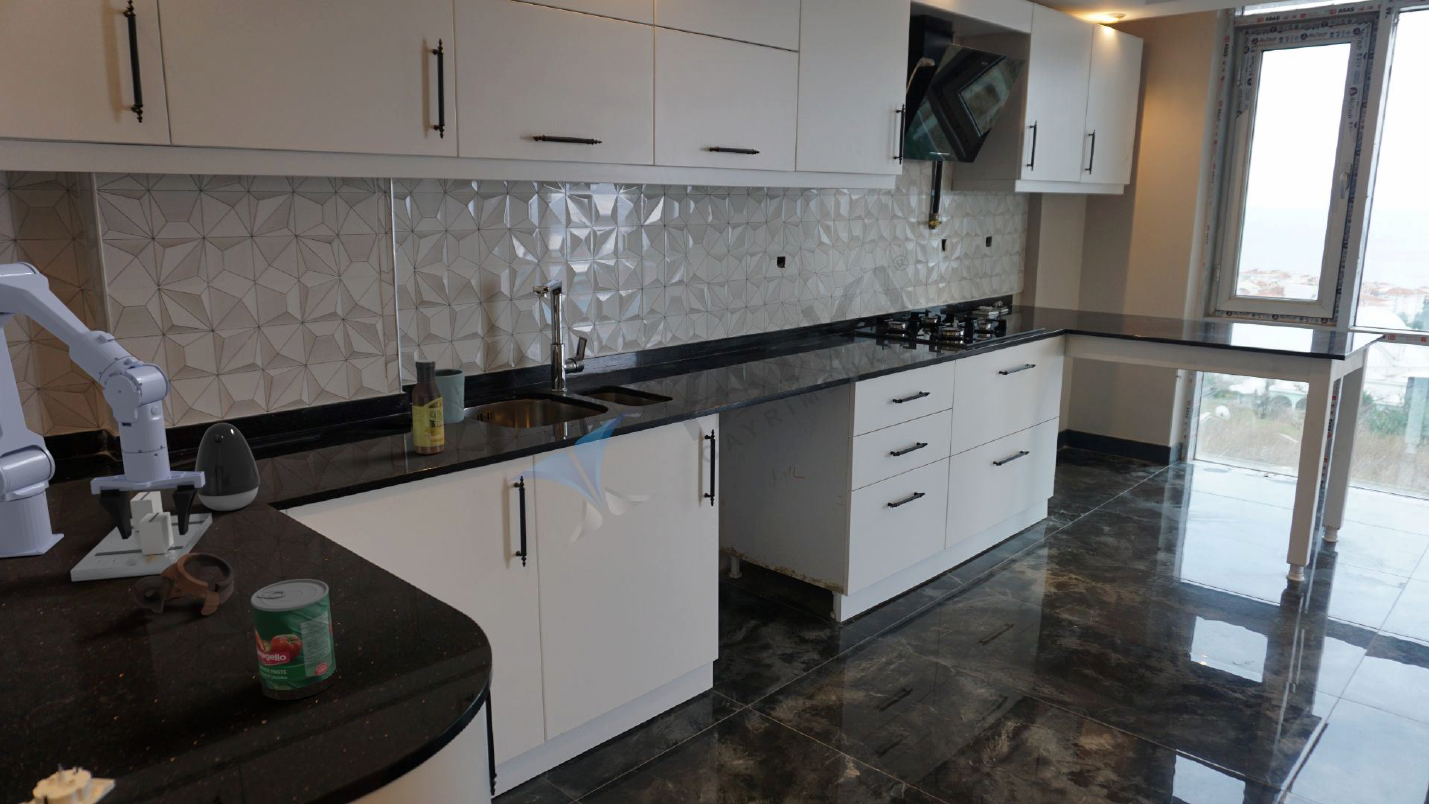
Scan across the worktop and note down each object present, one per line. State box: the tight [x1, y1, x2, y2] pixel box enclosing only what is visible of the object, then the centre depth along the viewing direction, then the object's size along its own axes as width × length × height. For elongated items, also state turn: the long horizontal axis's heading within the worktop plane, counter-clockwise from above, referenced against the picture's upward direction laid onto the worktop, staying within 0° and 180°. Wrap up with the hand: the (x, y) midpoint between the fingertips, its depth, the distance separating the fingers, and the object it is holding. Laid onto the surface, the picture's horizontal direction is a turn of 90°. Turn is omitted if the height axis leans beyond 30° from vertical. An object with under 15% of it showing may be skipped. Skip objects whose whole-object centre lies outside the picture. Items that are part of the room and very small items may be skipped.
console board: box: [70, 512, 213, 582], centre depth 143 cm, size 13×22×2 cm, turn 15°
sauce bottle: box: [411, 359, 445, 455], centre depth 197 cm, size 6×6×20 cm
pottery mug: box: [131, 551, 236, 616], centre depth 122 cm, size 12×10×8 cm
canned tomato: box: [250, 578, 337, 690], centre depth 103 cm, size 8×8×11 cm
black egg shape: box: [194, 422, 261, 512], centre depth 161 cm, size 10×10×15 cm
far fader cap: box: [129, 490, 164, 531], centre depth 148 cm, size 3×4×5 cm
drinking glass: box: [435, 367, 465, 425], centre depth 225 cm, size 10×10×12 cm
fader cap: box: [138, 511, 174, 555], centre depth 138 cm, size 3×4×5 cm
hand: (155, 535), depth 138 cm, fingers open, 7 cm apart
